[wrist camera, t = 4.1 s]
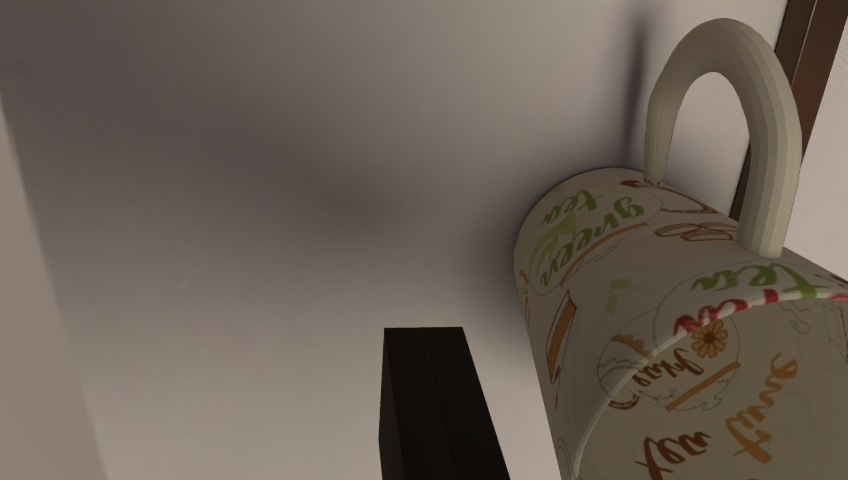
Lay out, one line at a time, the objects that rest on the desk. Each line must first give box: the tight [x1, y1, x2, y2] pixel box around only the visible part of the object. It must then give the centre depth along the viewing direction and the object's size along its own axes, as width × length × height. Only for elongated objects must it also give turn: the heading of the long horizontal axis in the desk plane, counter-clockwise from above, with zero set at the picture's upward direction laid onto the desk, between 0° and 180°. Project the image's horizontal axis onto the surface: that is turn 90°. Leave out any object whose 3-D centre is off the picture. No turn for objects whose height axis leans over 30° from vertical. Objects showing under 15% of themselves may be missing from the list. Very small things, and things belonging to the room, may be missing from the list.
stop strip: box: [730, 0, 848, 222], centre depth 24 cm, size 16×1×1 cm, turn 176°
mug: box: [514, 18, 848, 480], centre depth 19 cm, size 8×13×10 cm, turn 0°
